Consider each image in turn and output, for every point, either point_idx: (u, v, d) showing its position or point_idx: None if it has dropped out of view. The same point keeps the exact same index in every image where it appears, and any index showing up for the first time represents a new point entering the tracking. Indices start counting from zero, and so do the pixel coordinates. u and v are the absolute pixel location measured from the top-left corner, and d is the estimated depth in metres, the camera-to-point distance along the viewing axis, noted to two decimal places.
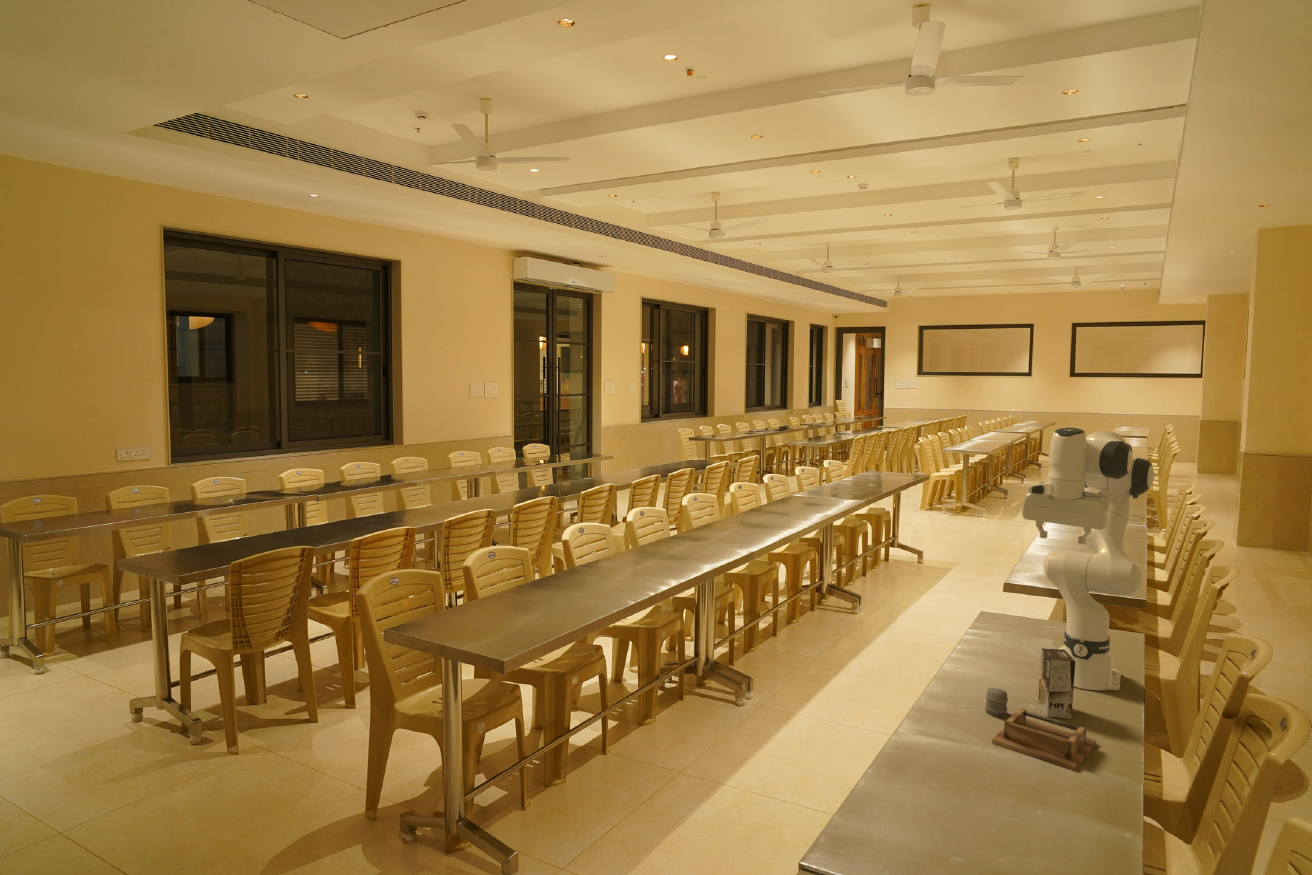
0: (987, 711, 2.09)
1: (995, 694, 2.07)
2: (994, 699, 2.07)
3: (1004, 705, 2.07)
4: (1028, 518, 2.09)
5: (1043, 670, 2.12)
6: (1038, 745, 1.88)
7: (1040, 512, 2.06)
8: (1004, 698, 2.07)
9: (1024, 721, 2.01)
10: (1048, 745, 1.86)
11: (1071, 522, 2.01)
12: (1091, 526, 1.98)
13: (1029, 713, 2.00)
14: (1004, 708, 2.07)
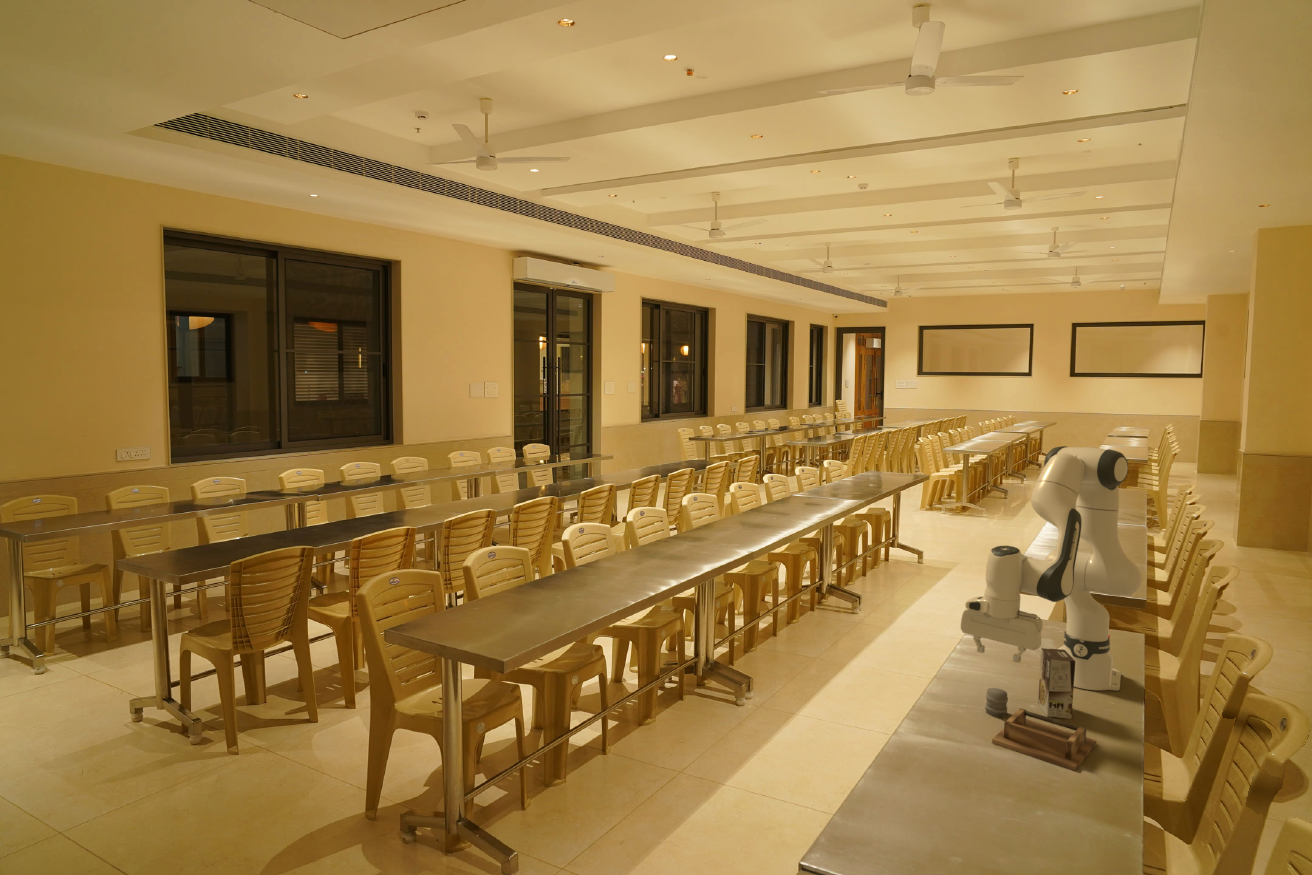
0: (987, 711, 2.09)
1: (995, 694, 2.07)
2: (994, 699, 2.07)
3: (1004, 705, 2.07)
4: (966, 632, 2.12)
5: (1043, 670, 2.12)
6: (1038, 745, 1.88)
7: (977, 628, 2.09)
8: (1004, 698, 2.07)
9: (1024, 721, 2.01)
10: (1048, 745, 1.86)
11: (1006, 640, 2.04)
12: (1025, 646, 2.01)
13: (1029, 713, 2.00)
14: (1004, 708, 2.07)
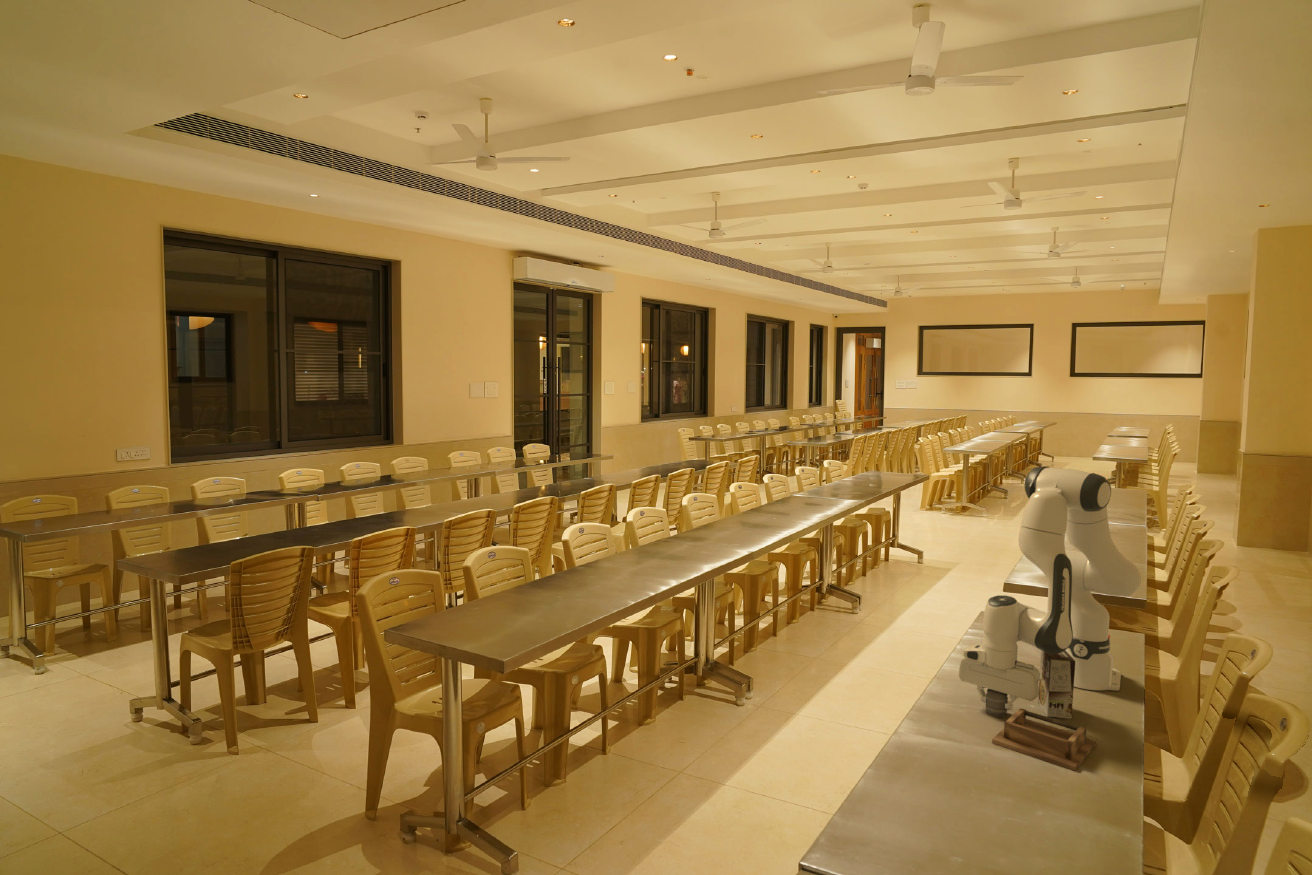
0: (987, 711, 2.09)
1: (995, 694, 2.07)
2: (994, 699, 2.07)
3: (1004, 705, 2.07)
4: (964, 680, 2.13)
5: (1043, 670, 2.12)
6: (1038, 745, 1.88)
7: (975, 676, 2.11)
8: (1004, 698, 2.07)
9: (1024, 721, 2.01)
10: (1048, 745, 1.86)
11: (1004, 690, 2.06)
12: (1022, 696, 2.03)
13: (1029, 713, 2.00)
14: (1004, 708, 2.07)
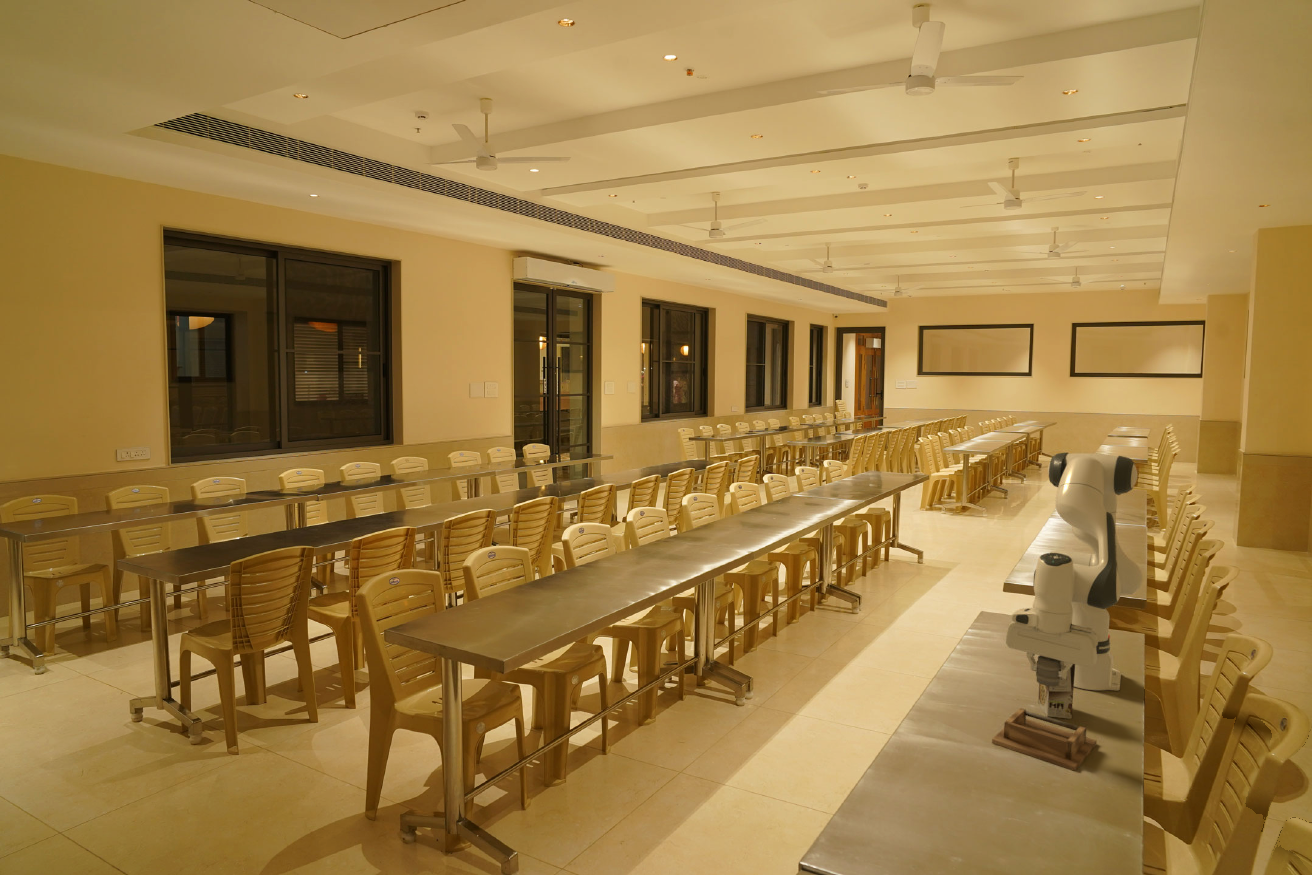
0: (1038, 680, 1.91)
1: (1047, 661, 1.89)
2: (1046, 666, 1.89)
3: (1057, 673, 1.89)
4: (1012, 647, 1.95)
5: None
6: (1038, 745, 1.88)
7: (1025, 642, 1.93)
8: (1057, 665, 1.88)
9: (1024, 721, 2.01)
10: (1048, 745, 1.86)
11: (1058, 656, 1.87)
12: (1079, 663, 1.84)
13: (1029, 713, 2.00)
14: (1057, 676, 1.89)
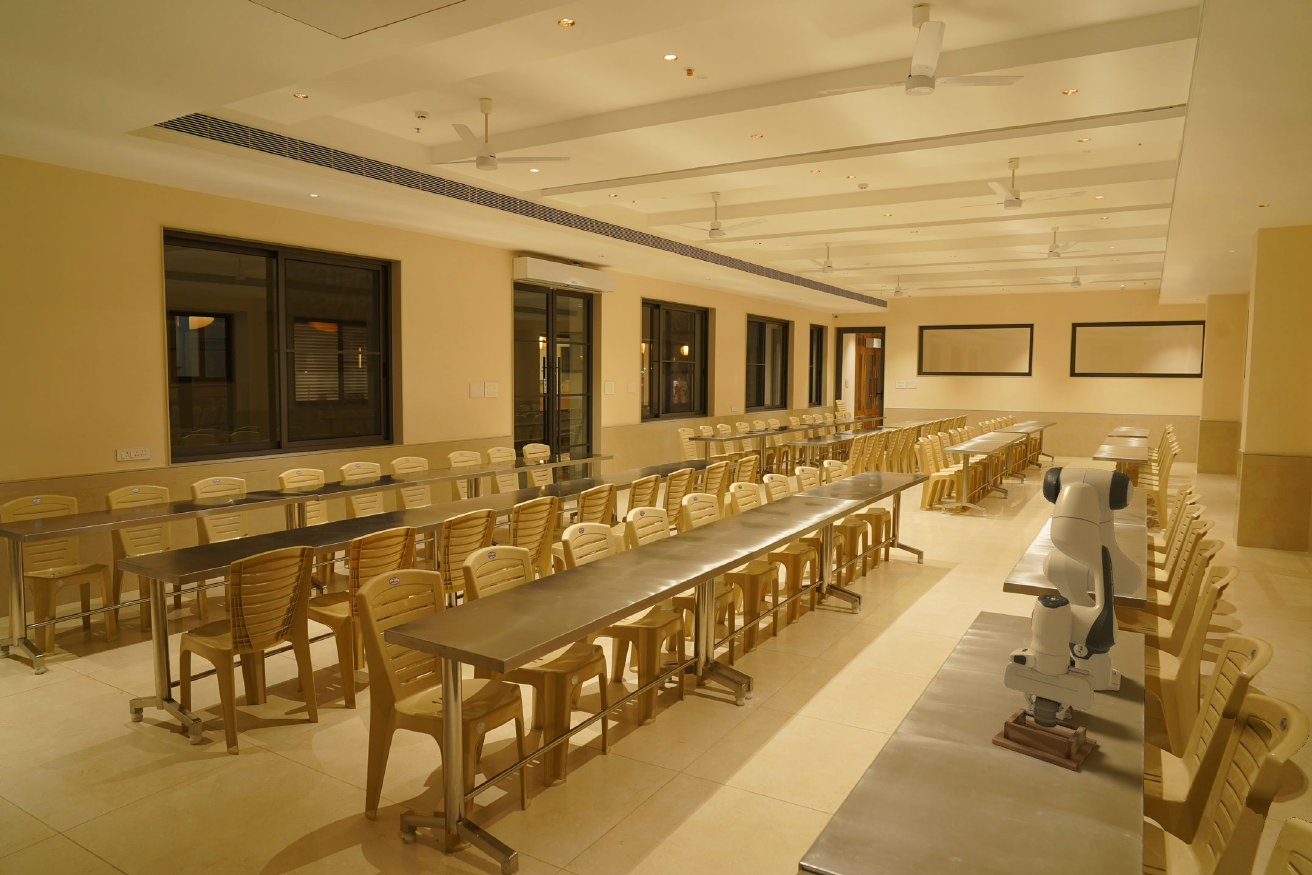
0: (1036, 721, 1.92)
1: (1044, 702, 1.90)
2: (1044, 707, 1.89)
3: (1055, 714, 1.89)
4: (1010, 687, 1.96)
5: None
6: (1038, 745, 1.88)
7: (1022, 683, 1.93)
8: (1055, 706, 1.89)
9: (1024, 721, 2.01)
10: (1048, 745, 1.86)
11: (1055, 698, 1.88)
12: (1076, 705, 1.85)
13: (1029, 713, 2.00)
14: (1055, 717, 1.90)
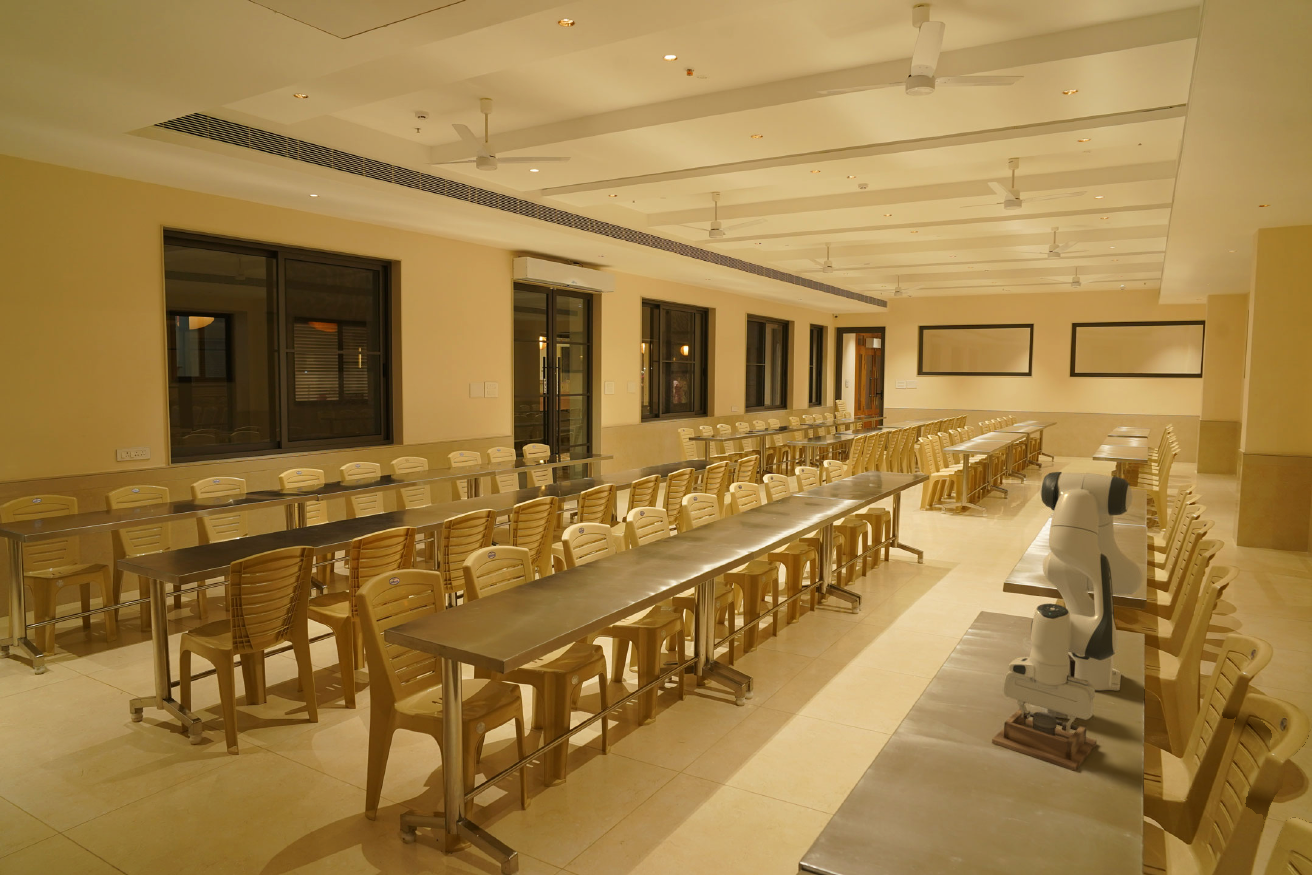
0: None
1: (1042, 718, 1.91)
2: (1042, 724, 1.90)
3: (1053, 731, 1.90)
4: (1009, 696, 1.96)
5: None
6: (1038, 745, 1.88)
7: (1022, 692, 1.94)
8: (1053, 723, 1.90)
9: (1024, 721, 2.01)
10: (1048, 745, 1.86)
11: (1054, 707, 1.89)
12: (1076, 715, 1.85)
13: None
14: (1053, 734, 1.90)
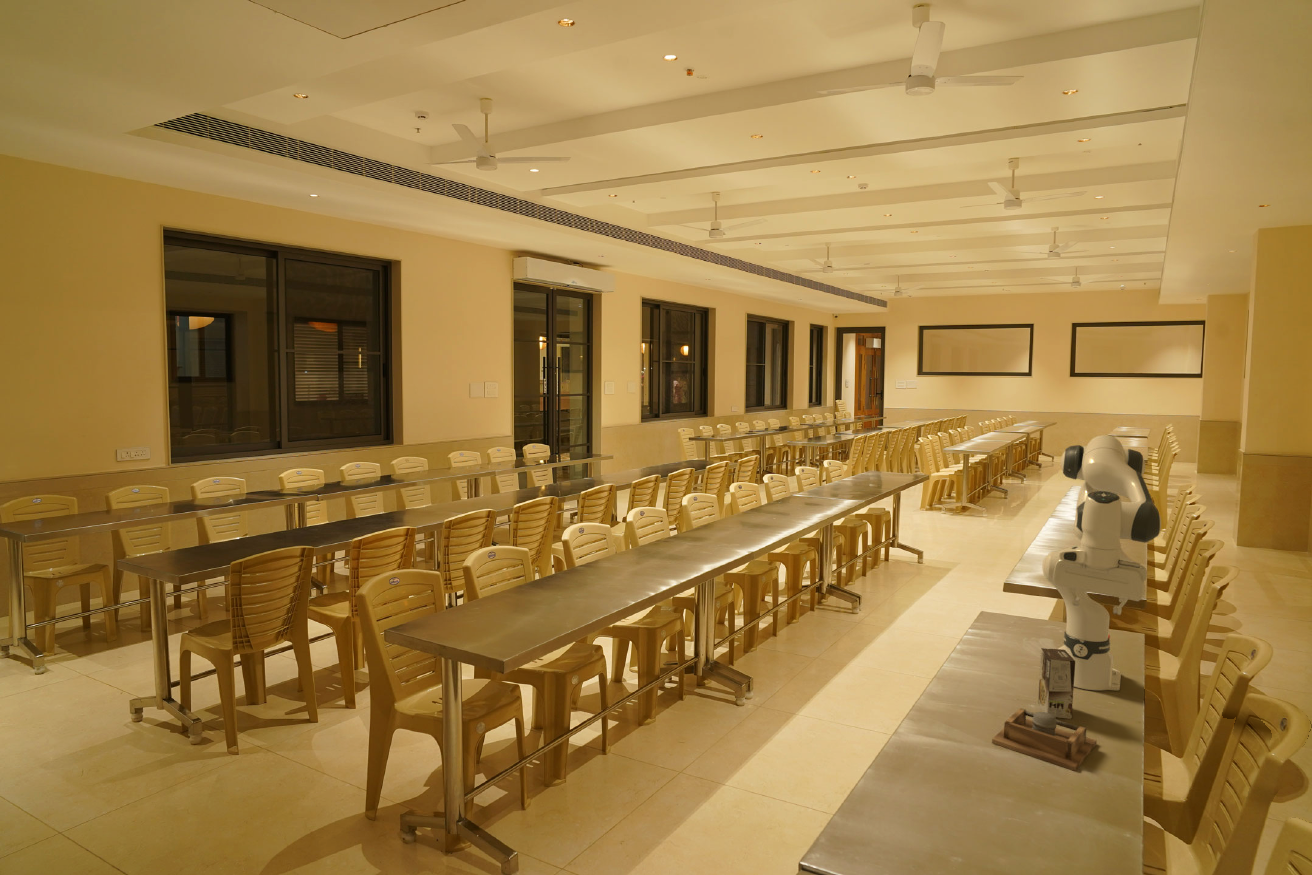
0: None
1: (1042, 719, 1.91)
2: (1042, 724, 1.90)
3: (1053, 731, 1.90)
4: (1060, 584, 2.00)
5: (1043, 670, 2.12)
6: (1038, 745, 1.88)
7: (1072, 579, 1.97)
8: (1053, 723, 1.90)
9: (1024, 721, 2.01)
10: (1048, 745, 1.86)
11: (1106, 591, 1.92)
12: (1127, 597, 1.89)
13: (1029, 713, 2.00)
14: (1053, 734, 1.90)
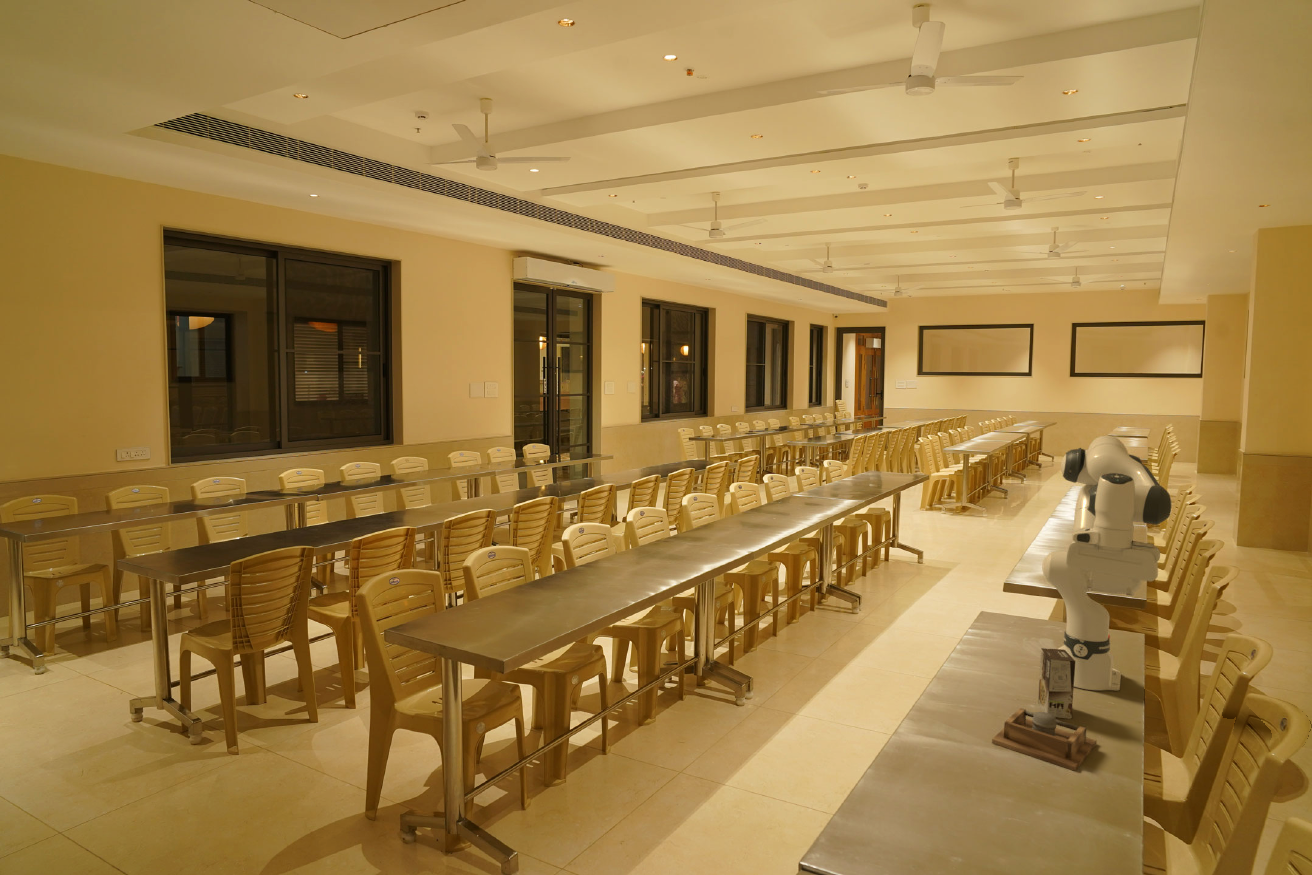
0: None
1: (1042, 718, 1.91)
2: (1042, 724, 1.90)
3: (1053, 731, 1.90)
4: (1072, 566, 2.01)
5: (1043, 670, 2.12)
6: (1038, 745, 1.88)
7: (1085, 561, 1.98)
8: (1053, 723, 1.90)
9: (1024, 721, 2.01)
10: (1048, 745, 1.86)
11: (1119, 572, 1.93)
12: (1141, 577, 1.90)
13: (1029, 713, 2.00)
14: (1053, 734, 1.90)
